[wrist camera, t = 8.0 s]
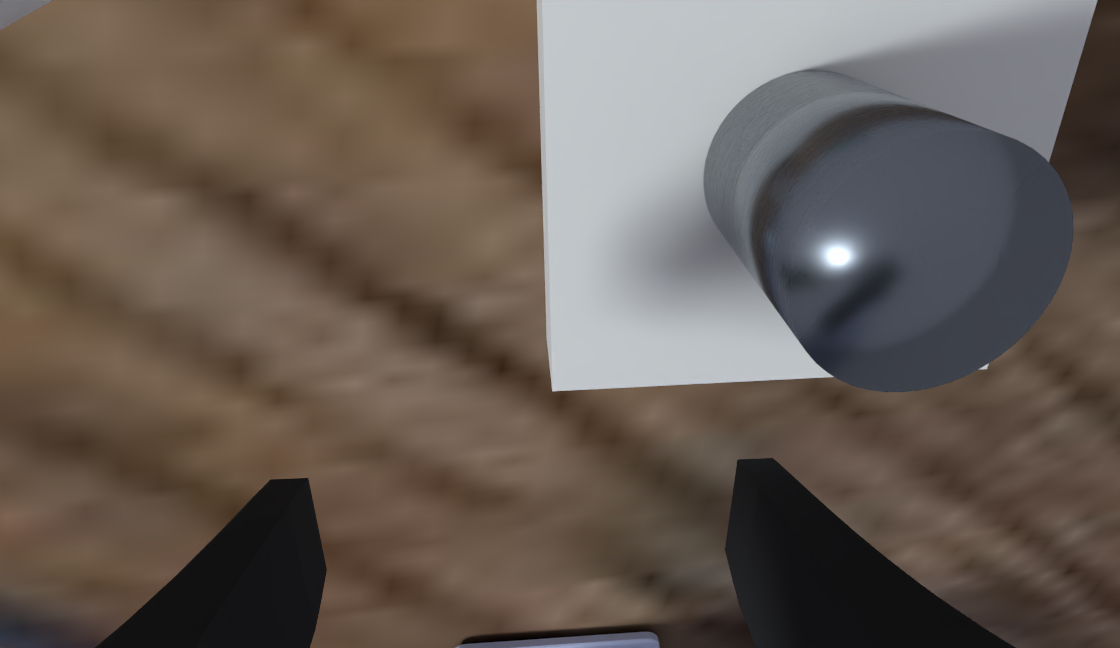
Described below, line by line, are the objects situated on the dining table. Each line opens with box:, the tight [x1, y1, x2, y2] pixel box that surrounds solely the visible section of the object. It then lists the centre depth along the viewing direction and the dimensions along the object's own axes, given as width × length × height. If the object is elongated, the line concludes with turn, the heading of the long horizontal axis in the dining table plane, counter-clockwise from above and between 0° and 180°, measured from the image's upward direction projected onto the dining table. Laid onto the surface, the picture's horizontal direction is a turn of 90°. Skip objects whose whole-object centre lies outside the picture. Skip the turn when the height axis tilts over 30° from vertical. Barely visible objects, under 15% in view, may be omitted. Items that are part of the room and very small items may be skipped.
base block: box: [537, 0, 1097, 391], centre depth 18 cm, size 12×12×3 cm
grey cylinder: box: [703, 70, 1073, 392], centre depth 14 cm, size 4×4×6 cm
